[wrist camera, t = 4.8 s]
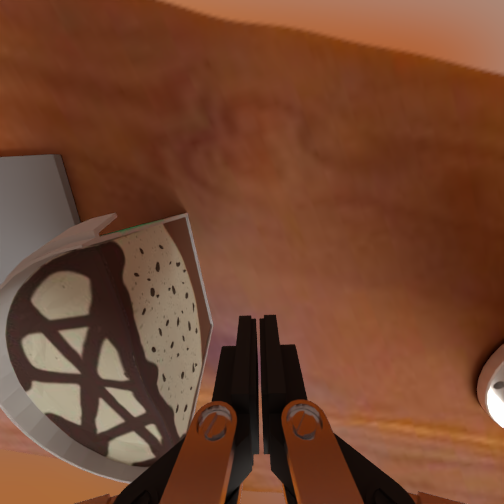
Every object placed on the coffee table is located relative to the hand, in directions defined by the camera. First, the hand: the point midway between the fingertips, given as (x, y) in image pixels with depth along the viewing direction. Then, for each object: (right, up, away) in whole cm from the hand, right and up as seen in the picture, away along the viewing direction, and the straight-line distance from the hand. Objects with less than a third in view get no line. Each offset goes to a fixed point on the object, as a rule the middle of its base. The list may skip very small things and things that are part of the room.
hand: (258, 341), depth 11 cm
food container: (-7, +2, +7) cm, 11 cm away
